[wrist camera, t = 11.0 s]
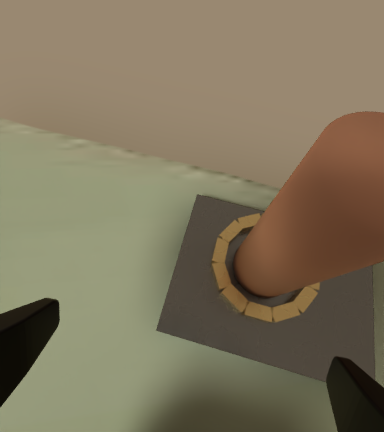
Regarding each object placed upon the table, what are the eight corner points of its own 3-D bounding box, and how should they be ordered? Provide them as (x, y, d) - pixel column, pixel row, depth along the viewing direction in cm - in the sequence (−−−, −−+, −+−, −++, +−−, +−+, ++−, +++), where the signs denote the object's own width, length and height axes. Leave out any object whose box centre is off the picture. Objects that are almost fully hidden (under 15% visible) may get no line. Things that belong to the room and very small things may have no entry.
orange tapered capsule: (299, 295, 20) (510, 239, 7) (237, 300, 20) (343, 248, 7) (285, 236, 22) (431, 110, 9) (229, 239, 22) (299, 112, 9)
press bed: (360, 244, 23) (379, 235, 21) (361, 391, 19) (386, 400, 16) (196, 201, 25) (197, 189, 22) (157, 330, 20) (154, 330, 18)
